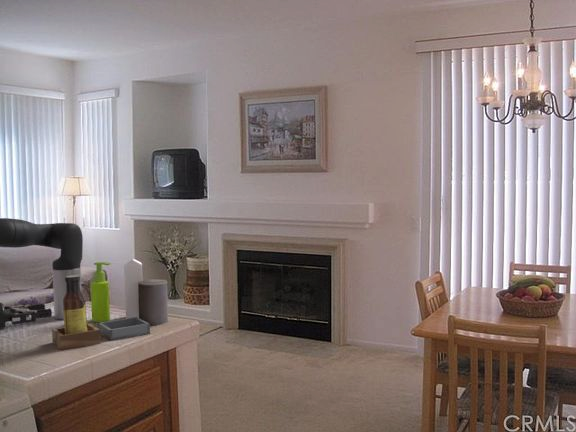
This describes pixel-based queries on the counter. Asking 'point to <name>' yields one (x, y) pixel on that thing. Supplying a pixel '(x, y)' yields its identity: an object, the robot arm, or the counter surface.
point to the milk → (132, 287)
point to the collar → (75, 338)
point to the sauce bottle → (74, 306)
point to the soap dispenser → (100, 295)
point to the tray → (124, 328)
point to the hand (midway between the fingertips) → (48, 309)
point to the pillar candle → (153, 301)
